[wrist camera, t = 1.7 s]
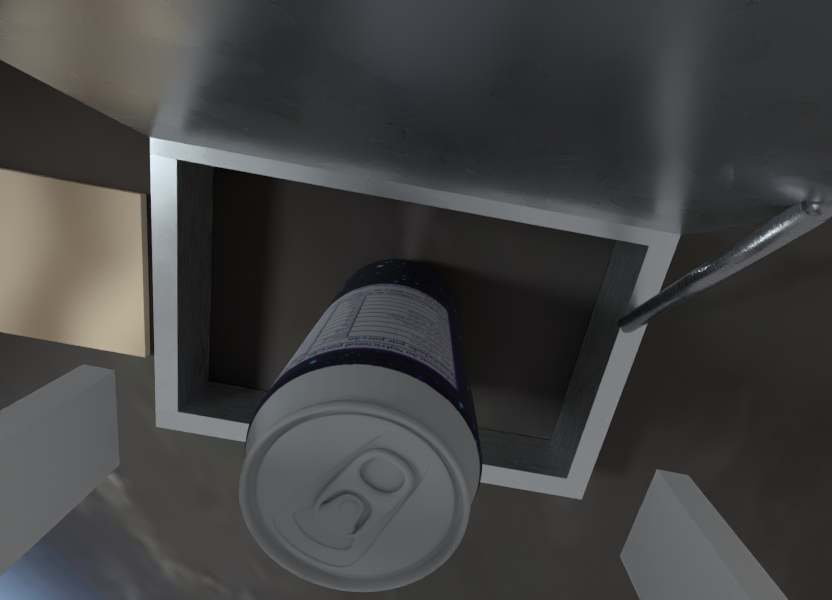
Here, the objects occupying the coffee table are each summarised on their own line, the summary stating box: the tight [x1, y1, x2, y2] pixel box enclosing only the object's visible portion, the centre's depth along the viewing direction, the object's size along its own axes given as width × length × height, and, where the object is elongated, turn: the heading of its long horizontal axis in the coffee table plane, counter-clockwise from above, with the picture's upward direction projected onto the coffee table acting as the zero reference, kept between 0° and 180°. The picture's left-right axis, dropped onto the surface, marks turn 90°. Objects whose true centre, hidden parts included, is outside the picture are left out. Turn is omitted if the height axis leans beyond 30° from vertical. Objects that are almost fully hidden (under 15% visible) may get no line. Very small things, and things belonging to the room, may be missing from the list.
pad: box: [0, 167, 150, 357], centre depth 20 cm, size 8×8×1 cm
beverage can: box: [239, 259, 482, 592], centre depth 15 cm, size 6×6×12 cm
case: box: [0, 0, 832, 499], centre depth 12 cm, size 20×17×16 cm
